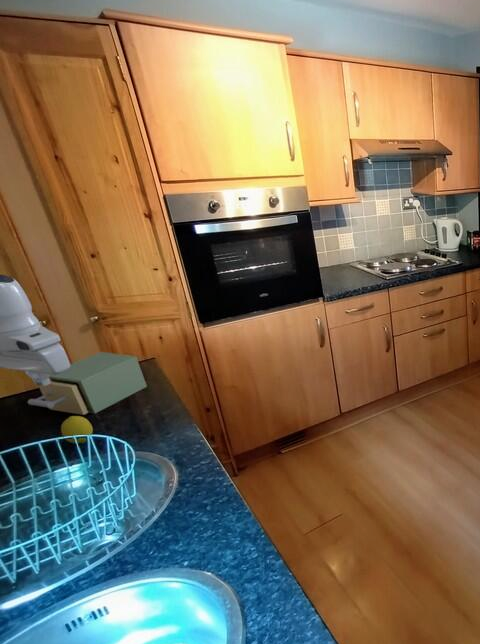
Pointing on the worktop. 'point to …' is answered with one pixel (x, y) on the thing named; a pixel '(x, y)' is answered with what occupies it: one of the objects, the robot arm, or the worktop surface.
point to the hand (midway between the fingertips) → (43, 384)
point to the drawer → (62, 397)
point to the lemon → (76, 428)
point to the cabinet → (105, 378)
